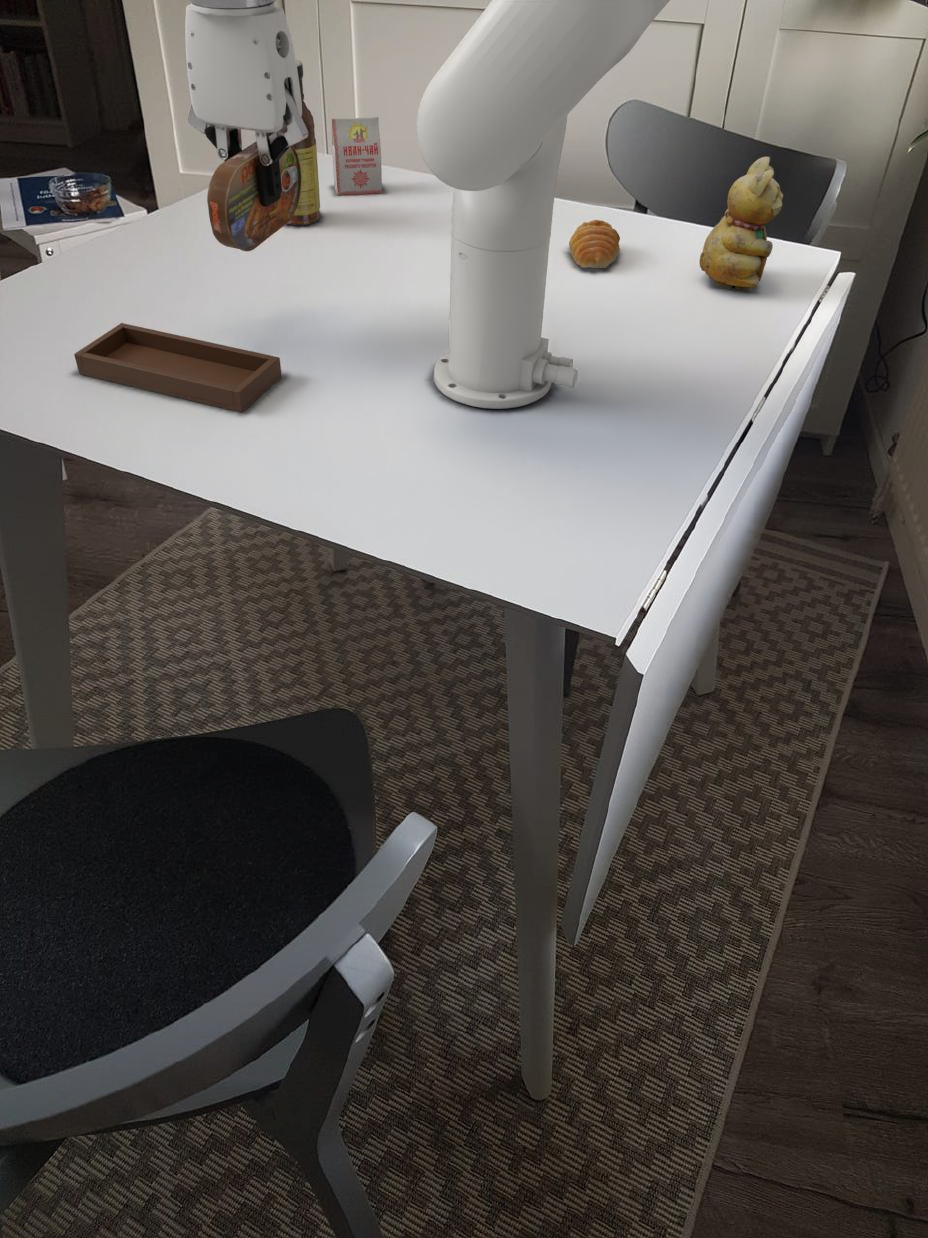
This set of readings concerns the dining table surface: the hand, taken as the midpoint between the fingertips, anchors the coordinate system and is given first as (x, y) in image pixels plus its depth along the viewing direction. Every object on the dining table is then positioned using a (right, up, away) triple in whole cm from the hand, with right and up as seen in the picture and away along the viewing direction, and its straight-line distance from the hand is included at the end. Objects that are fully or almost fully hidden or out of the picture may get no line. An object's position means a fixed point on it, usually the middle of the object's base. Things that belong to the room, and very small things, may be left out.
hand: (256, 198), depth 99 cm
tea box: (+5, +22, +47) cm, 52 cm away
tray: (-8, -18, +2) cm, 20 cm away
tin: (0, -3, +3) cm, 4 cm away
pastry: (+39, +5, +30) cm, 49 cm away
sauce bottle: (-2, +13, +37) cm, 39 cm away
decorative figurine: (+56, 0, +25) cm, 61 cm away
